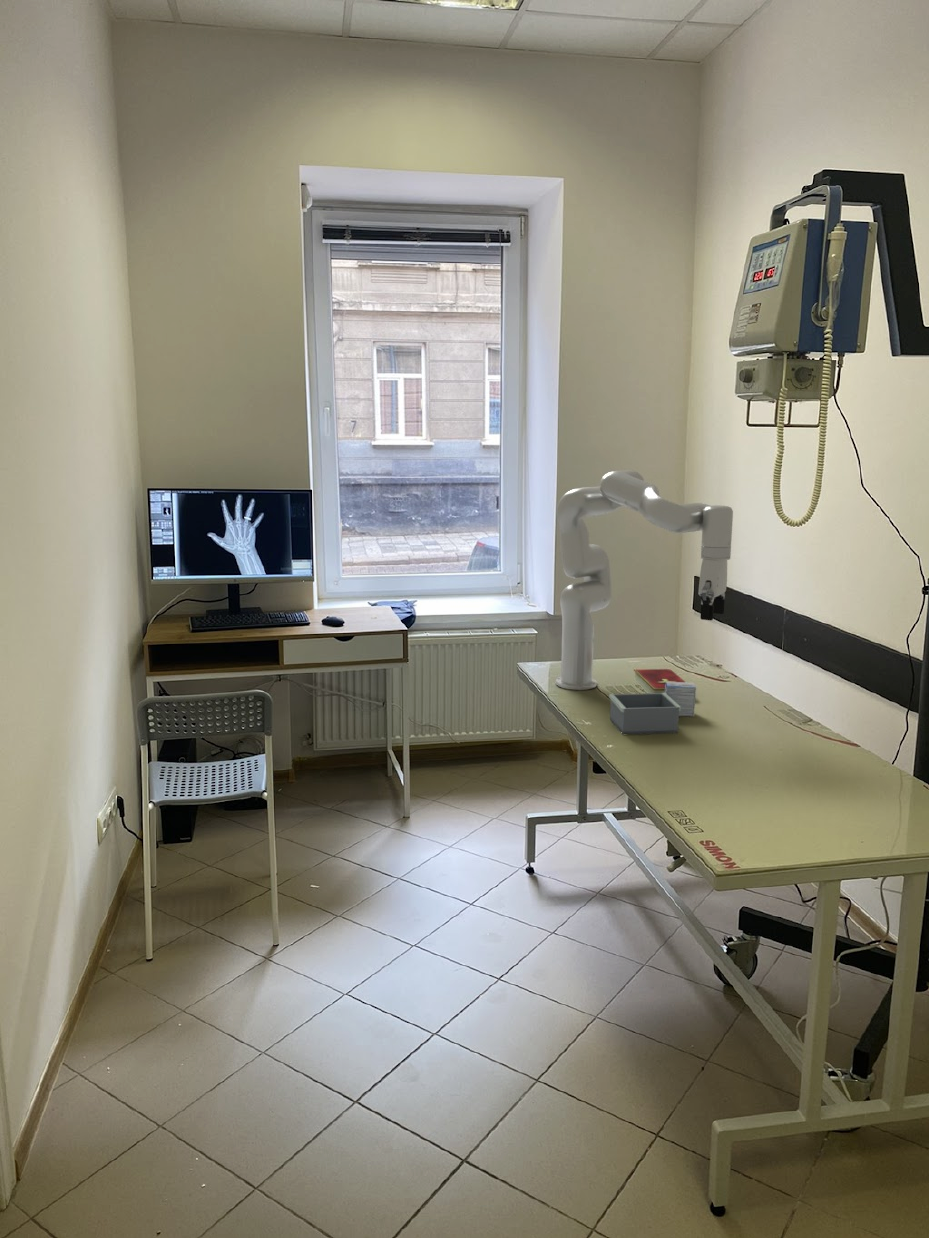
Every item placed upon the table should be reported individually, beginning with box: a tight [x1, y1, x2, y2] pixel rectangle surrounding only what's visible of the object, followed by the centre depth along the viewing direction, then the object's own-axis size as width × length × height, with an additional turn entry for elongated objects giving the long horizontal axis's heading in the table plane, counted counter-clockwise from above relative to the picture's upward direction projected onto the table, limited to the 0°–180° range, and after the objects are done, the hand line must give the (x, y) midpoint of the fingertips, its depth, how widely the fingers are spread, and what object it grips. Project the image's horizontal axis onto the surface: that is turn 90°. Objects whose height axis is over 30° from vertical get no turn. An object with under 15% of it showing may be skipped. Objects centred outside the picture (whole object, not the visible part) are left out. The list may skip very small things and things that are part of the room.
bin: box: [608, 693, 681, 735], centre depth 242 cm, size 13×16×7 cm
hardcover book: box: [633, 668, 686, 694], centre depth 275 cm, size 12×21×4 cm, turn 6°
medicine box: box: [665, 681, 697, 717], centre depth 252 cm, size 8×4×9 cm, turn 84°
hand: (712, 616), depth 244 cm, fingers open, 9 cm apart
